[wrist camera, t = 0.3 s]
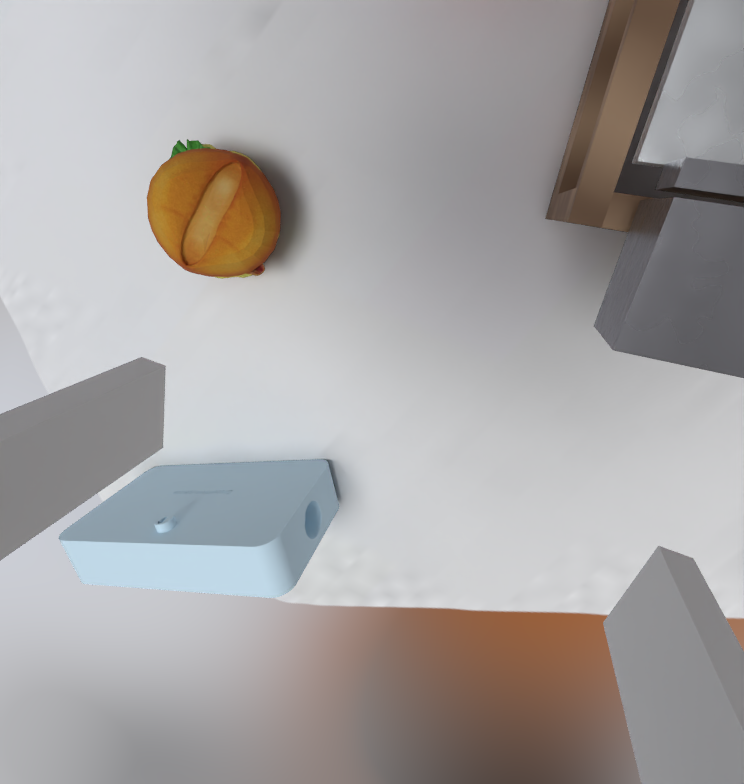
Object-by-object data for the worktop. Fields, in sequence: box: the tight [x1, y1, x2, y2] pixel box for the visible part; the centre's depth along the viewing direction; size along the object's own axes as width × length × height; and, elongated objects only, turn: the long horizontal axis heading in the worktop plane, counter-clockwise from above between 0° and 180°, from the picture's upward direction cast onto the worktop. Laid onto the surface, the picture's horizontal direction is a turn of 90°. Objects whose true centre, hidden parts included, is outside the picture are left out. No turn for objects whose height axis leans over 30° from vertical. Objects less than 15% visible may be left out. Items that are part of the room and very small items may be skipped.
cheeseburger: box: [147, 139, 281, 278], centre depth 34 cm, size 10×11×10 cm
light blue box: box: [59, 459, 339, 598], centre depth 43 cm, size 23×6×13 cm, turn 102°
